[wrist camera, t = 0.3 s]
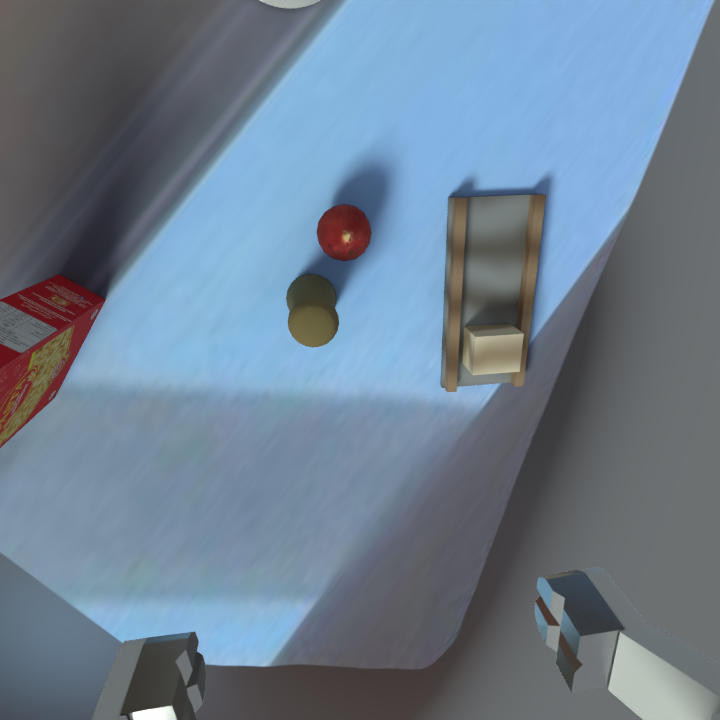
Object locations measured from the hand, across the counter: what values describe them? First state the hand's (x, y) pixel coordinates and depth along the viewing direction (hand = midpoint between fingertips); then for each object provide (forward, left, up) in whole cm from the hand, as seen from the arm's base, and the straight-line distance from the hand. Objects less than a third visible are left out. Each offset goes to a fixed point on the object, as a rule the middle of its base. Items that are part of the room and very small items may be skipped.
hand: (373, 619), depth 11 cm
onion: (-4, +3, -47) cm, 47 cm away
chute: (+5, +21, -47) cm, 52 cm away
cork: (+4, -1, -47) cm, 47 cm away
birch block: (+11, +21, -47) cm, 53 cm away
